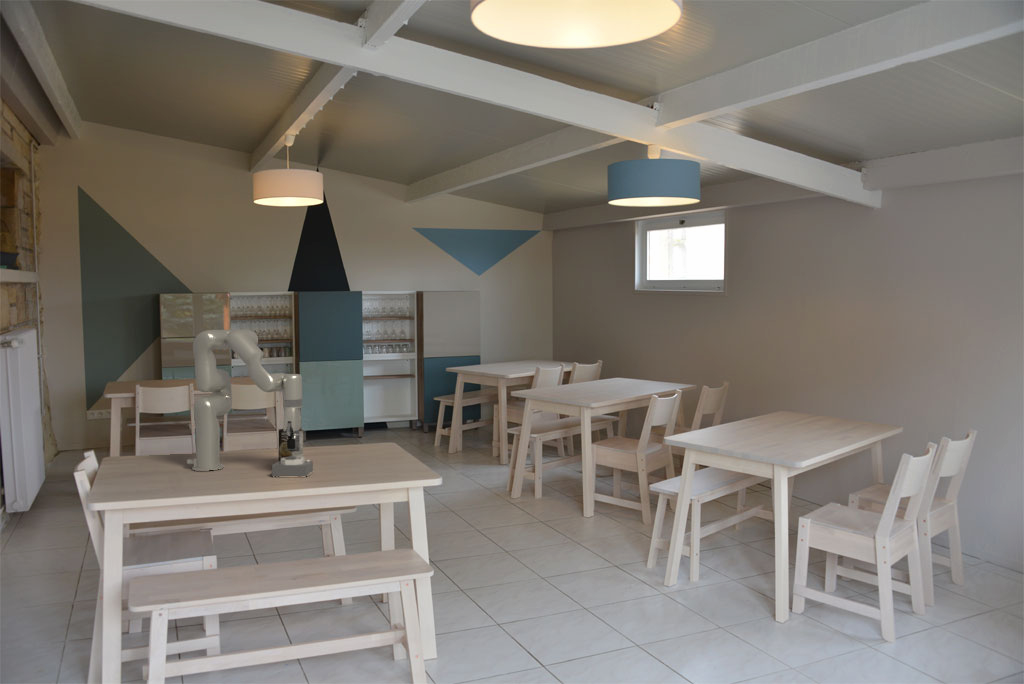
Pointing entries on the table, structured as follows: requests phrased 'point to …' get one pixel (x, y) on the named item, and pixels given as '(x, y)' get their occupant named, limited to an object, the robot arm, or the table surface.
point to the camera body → (292, 466)
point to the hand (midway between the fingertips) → (293, 447)
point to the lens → (296, 442)
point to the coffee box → (283, 445)
